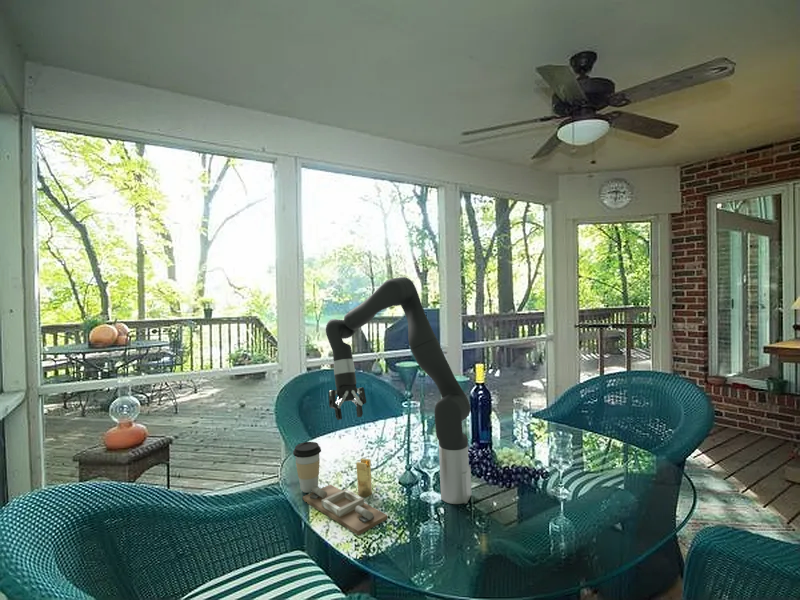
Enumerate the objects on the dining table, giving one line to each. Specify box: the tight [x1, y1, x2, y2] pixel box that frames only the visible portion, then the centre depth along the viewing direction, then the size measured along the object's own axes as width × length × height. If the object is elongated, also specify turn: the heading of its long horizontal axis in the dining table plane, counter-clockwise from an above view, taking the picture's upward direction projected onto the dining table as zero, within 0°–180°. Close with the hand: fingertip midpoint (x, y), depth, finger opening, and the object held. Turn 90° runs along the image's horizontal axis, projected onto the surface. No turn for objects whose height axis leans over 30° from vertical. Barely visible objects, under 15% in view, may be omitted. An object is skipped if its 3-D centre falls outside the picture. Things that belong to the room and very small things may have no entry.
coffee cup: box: [292, 441, 322, 494], centre depth 154 cm, size 9×9×15 cm
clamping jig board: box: [302, 484, 388, 536], centre depth 140 cm, size 29×11×4 cm, turn 44°
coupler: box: [355, 458, 373, 498], centre depth 149 cm, size 5×5×11 cm
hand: (349, 418), depth 160 cm, fingers open, 8 cm apart
